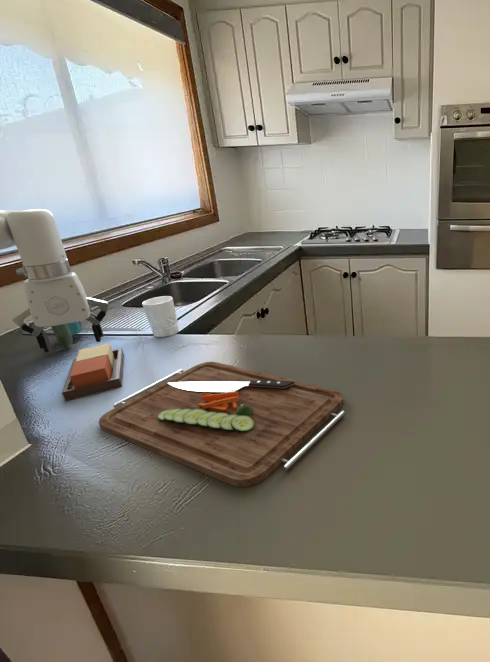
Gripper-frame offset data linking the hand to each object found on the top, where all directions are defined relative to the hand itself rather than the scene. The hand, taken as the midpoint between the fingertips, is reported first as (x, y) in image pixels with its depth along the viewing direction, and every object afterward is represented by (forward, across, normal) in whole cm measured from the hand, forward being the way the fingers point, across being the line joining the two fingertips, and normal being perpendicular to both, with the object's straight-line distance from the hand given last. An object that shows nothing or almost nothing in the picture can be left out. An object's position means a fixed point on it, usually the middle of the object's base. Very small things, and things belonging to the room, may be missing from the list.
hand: (74, 345), depth 94 cm
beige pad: (+8, +2, +5) cm, 10 cm away
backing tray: (+9, +2, +1) cm, 9 cm away
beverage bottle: (+10, -7, +36) cm, 37 cm away
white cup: (+9, +18, +21) cm, 29 cm away
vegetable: (+9, -7, +26) cm, 28 cm away
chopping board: (+8, +26, -33) cm, 43 cm away
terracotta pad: (+8, +2, -3) cm, 9 cm away
